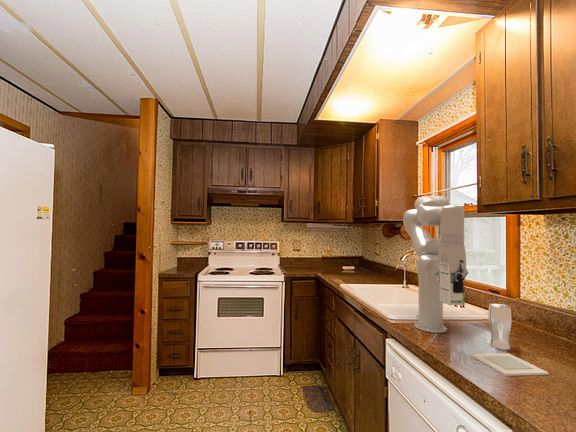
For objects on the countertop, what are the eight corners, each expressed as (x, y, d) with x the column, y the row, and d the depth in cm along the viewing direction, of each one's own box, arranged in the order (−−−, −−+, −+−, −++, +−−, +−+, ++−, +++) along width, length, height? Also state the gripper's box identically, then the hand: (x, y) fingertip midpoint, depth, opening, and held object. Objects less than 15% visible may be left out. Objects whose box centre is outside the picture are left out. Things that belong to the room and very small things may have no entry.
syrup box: (449, 305, 103) (449, 263, 103) (439, 301, 109) (439, 261, 109) (464, 305, 104) (465, 263, 104) (453, 301, 109) (453, 261, 110)
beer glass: (489, 342, 114) (489, 302, 115) (512, 346, 109) (511, 305, 110) (487, 347, 108) (487, 305, 109) (511, 352, 104) (510, 308, 105)
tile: (470, 355, 100) (470, 353, 100) (508, 355, 102) (508, 352, 102) (505, 375, 86) (505, 373, 86) (548, 374, 88) (548, 371, 88)
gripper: (428, 238, 115) (428, 285, 114) (458, 241, 98) (458, 296, 97) (446, 239, 116) (446, 285, 115) (479, 241, 99) (479, 296, 98)
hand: (451, 290), depth 106 cm, fingers closed on syrup box, 5 cm apart
